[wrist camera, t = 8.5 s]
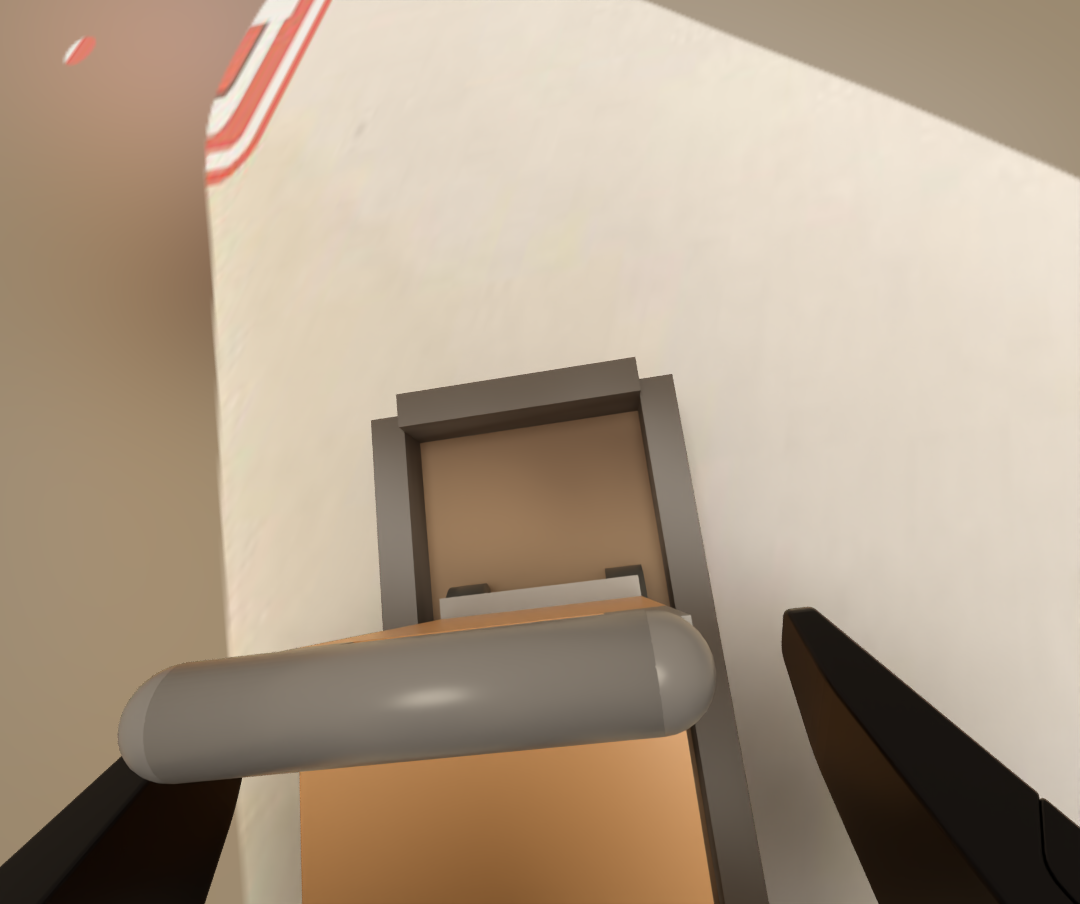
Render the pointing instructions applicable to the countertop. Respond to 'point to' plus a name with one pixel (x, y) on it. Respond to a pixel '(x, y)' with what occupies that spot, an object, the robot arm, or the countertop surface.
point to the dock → (563, 532)
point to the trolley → (466, 748)
